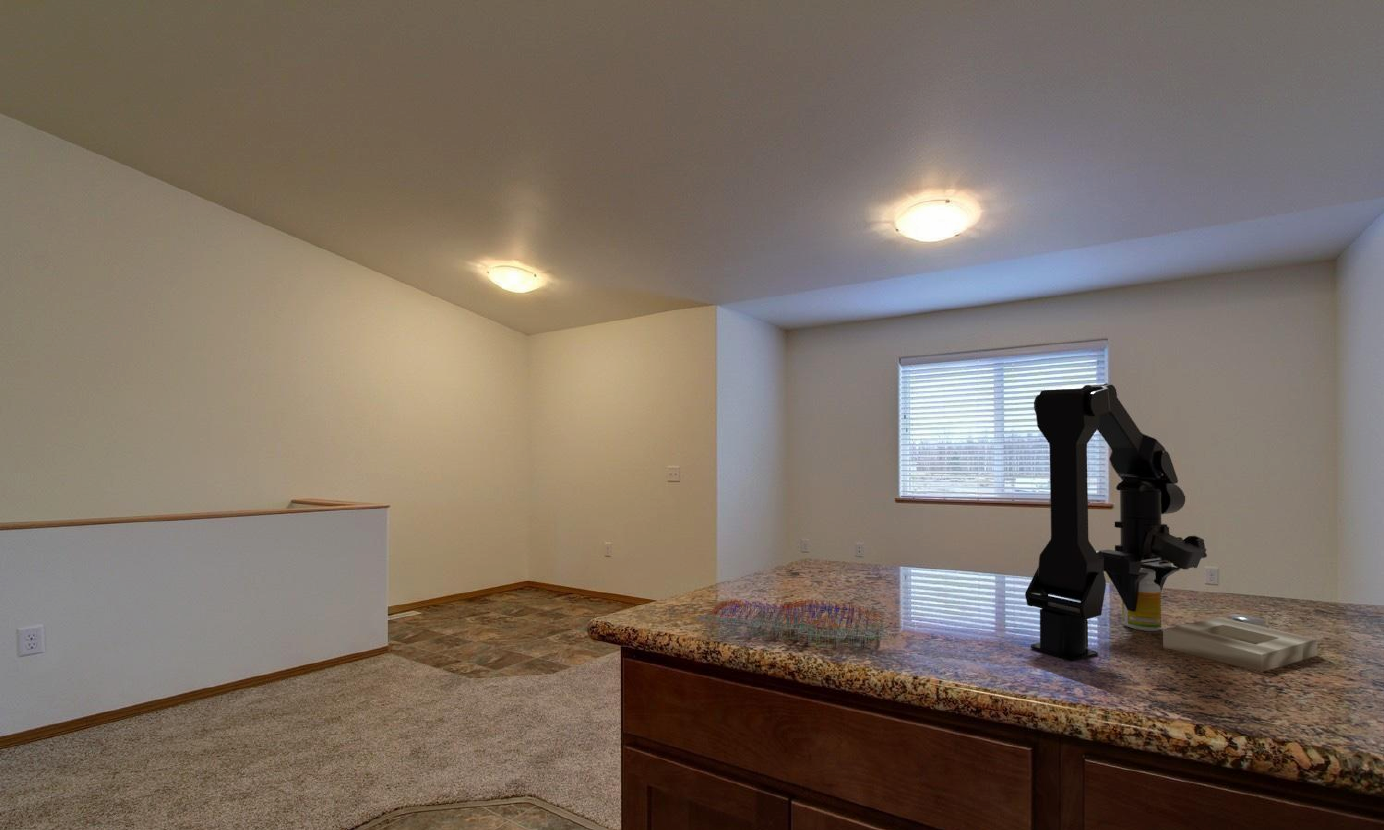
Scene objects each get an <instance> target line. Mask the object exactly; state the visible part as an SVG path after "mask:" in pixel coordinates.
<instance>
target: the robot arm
mask: <svg viewBox="0 0 1384 830" xmlns="http://www.w3.org/2000/svg"><path fill="white" fill-rule="evenodd" d="M1033 409H1034V413H1035V416H1036V425H1037V428H1038V429H1039V431H1040V432H1041V435H1042V436H1043V437H1044V438H1045V439H1046V442H1047V443H1048V445H1049V492H1050V494H1049V495H1050V496H1049V497H1050V498H1049V499H1050V501H1049V502H1050V539H1049V541H1048V542H1047V544H1046V545H1045V547H1044V548H1043V549H1042V551H1041V552H1040V554H1039V557H1038V566H1037V569H1036V571H1035V572H1034V574H1033V577H1032V579H1031V580H1030V583H1029V585H1028V587H1027V589H1026V591H1025V593H1024V594H1025V595H1024V597H1025V600H1026V604H1027V605H1026V606H1028V607H1035V608H1039V642H1036V643H1031V644H1030V648H1031V649H1033V650H1034V651H1035V650H1036V651H1038V652H1042V653H1043V654H1047V655H1050V656H1053V657H1055V658H1059V659H1062V660H1065V661H1068V662H1076V661H1080V660H1085V659H1090V658H1094V657H1098V655H1099V652H1098V651H1096V650H1093V649H1090V648H1088V647H1089V621H1088V620H1089V619H1093V618H1097V617H1100V616H1102V611H1103V605H1104V600H1105V595H1106V594H1105V593H1106V588H1107V587H1106V586H1107V584H1106V583H1107V582H1106V576H1105V573H1106V574H1107V576H1108V578H1109V580H1110V581H1111V582H1112V584H1113V586H1114V587H1115V589H1116V592H1117V593H1118V595H1119V597H1120V598H1121V602H1122V601H1123V602H1124V604H1125V606H1126V608H1127V610H1129V611H1133V612H1134V611H1135V610H1136V606H1137V598H1138V590H1139V582H1140V580H1142V579H1143V578H1144V577H1145V576H1147V575H1148V573H1144V572H1141V568H1146V569H1151V570H1154V571H1155V575H1156V578H1155V580H1154V583H1156V584H1158V585H1159V586H1160V589H1161V592H1162V590H1163V587H1164V585H1165V583H1166V580H1167V579H1168V577H1169V576H1172V575H1173V574H1174V573H1176V572H1179V571H1180V570H1185V571H1186V570H1189V569H1191V568H1193V569H1197V568H1198V566H1199V564H1200V561H1201V560H1202V559H1205V558H1207V557H1208V555H1207V548H1206V546H1205V545H1206V544H1205V540H1204V538H1201V537H1200V536H1197V535H1188V536H1187V537H1185V538H1184V539H1183V538H1182V537H1181V536H1179V537H1177V536H1174V535H1172V534H1170V526H1168V524H1166V523H1162V515H1168V514H1174V513H1176V512H1178V511H1180V510H1181V509H1183V507H1184V505H1185V503H1186V496H1185V493H1184V491H1183V490H1182V489H1181V487H1180V486H1178V485H1177V484H1178V483H1179V479H1178V477H1177V474H1176V471H1175V467H1174V464H1173V462H1172V459H1171V455H1170V453H1169V452H1168V450H1166V448H1165V447H1164V446H1163V445H1162V444H1161V443H1160V441H1159V440H1158V439H1156V438H1154V437H1152V436H1149V435H1147V434H1145V433H1142V431H1141V430H1140V429H1139V427H1138V426H1137V425H1136V423H1135V422H1134V420H1133V418H1132V417H1131V415H1130V414H1129V412H1128V411H1127V410H1126V408H1125V407H1124V405H1123V404H1122V403H1121V401H1120V399H1119V398H1118V393H1117V389H1116V387H1115V386H1114V384H1109V383H1107V382H1105V383H1086V384H1085V383H1084V384H1083V383H1082V384H1078V385H1060V386H1047V387H1044V388H1042V389H1041V391H1040V392H1039V394H1037V395H1036V396H1035V398H1034V402H1033ZM1097 431H1098V432H1099V434H1100V435H1101V437H1102V439H1104V441H1105V442H1106V444H1107V445H1108V446H1109V448H1110V450H1111V453H1110V456H1109V459H1108V460H1109V462H1110V465H1111V466H1112V469H1113V470H1114V471H1115V473H1116V474H1117V476H1118V477H1119V478H1120V479H1121V481H1120V482H1118V483H1117V485H1116V487H1115V489H1116V490H1117V491H1119V496H1120V497H1119V502H1120V503H1119V505H1120V506H1119V510H1120V511H1119V512H1120V513H1119V515H1120V516H1119V518H1120V520H1117V521H1116V520H1114V528H1117V529H1120V544H1114V550H1112V549H1102V550H1100V549H1099V550H1095V548H1094V547H1093V545H1092V543H1091V542H1090V539H1089V499H1088V497H1089V495H1088V494H1089V493H1088V491H1089V490H1088V489H1089V488H1088V487H1089V485H1088V443H1089V442H1090V441H1091V440H1092V437H1093V436H1094V434H1095V433H1096V432H1097ZM1172 565H1173V566H1172Z"/></svg>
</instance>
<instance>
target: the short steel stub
mask: <svg viewBox="0 0 1384 830" xmlns="http://www.w3.org/2000/svg"><path fill="white" fill-rule="evenodd" d="M1228 616H1229V617H1228V619H1231V620H1235V621H1240V622H1244V623H1248V624H1253V625H1257V626H1262V627H1266V628H1267V621H1266V619H1264V618H1261V617H1258V616H1254V615H1247V614H1238V613H1235V614H1233V613H1232V614H1229V615H1228Z"/></svg>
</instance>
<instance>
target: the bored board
mask: <svg viewBox="0 0 1384 830" xmlns="http://www.w3.org/2000/svg"><path fill="white" fill-rule="evenodd" d="M1162 647H1163V649H1169V650H1172V651H1177V652H1181V653H1185V654H1188V655H1192V656H1196V657H1200V658H1205V659H1209V660H1212V661H1215V662H1220V663H1224V664H1229V665H1232V666H1236V667H1240V668H1244V669H1249V670H1253V671H1257V672H1260V673H1263V672H1266V671H1267V672H1268V671H1271V670H1273V669H1277V668H1280V667H1284V666H1287V665H1291V664H1294V663H1298V662H1302V661H1305V660H1307V659H1312V658H1314V657H1318V638H1314V637H1310V636H1305V635H1301V634H1296V633H1292V632H1287V631H1283V630H1280V629H1279V630H1278V629H1274V628H1270V627H1267V626H1266V627H1262V626H1257V625H1253V624H1248V623H1244V622H1240V621H1235V620H1231V619H1229V618H1226V617H1221V616H1218V617H1213V618H1208V619H1204V620H1199V621H1195V622H1191V623H1190V622H1189V623H1186V624H1181V625H1177V626H1171V627H1168V628H1162ZM1311 657H1312V658H1311Z"/></svg>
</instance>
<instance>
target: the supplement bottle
mask: <svg viewBox="0 0 1384 830" xmlns="http://www.w3.org/2000/svg"><path fill="white" fill-rule="evenodd" d="M1141 572H1144V573H1148V575H1147V576H1145V577H1144V578H1143V579H1142V580H1140V582H1139V590H1138V598H1137V606H1136V610H1135V611H1134V612H1133V611H1129V610H1127V608H1126V606H1125V604H1124V602H1123V601H1122V600H1121V607H1122V608H1121V617H1122V619H1121V620H1122V624H1123V625H1124V626H1125V627H1126V628H1131V629H1135V630H1138V631H1144V632H1158V631H1160V630H1161V629H1162V599H1161V598H1162V597H1161V596H1162V591H1161V589H1160V586H1159V585H1158V584H1156V583H1154V580H1155V578H1156V575H1155V571H1154V570H1151V569H1146V568H1141Z"/></svg>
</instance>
